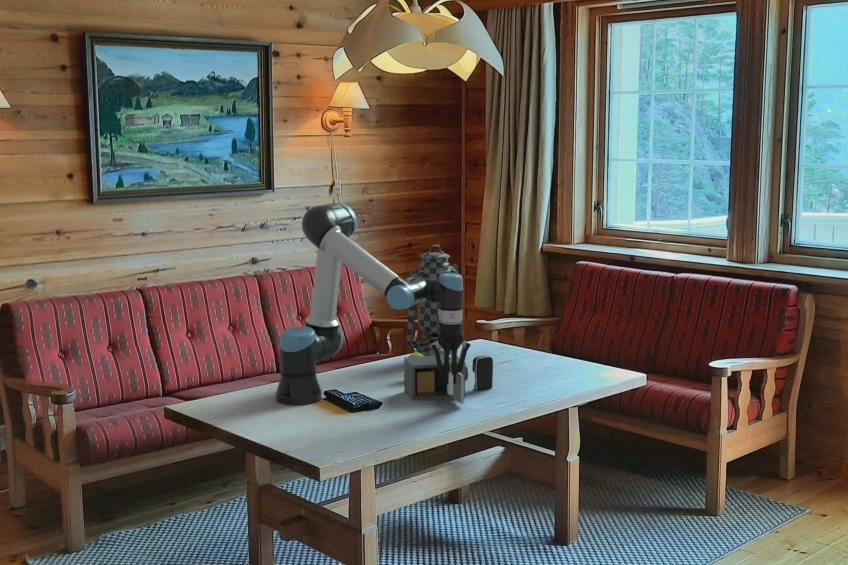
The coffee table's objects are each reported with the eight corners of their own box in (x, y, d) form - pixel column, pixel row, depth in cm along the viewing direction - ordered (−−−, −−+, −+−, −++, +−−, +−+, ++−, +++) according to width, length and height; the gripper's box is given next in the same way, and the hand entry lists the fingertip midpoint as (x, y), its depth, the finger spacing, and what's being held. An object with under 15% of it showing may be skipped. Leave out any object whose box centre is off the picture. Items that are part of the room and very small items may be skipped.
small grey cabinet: (413, 401, 336) (412, 363, 334) (404, 391, 348) (404, 355, 346) (470, 396, 341) (470, 359, 339) (460, 387, 353) (460, 351, 351)
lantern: (416, 370, 377) (416, 249, 370) (396, 359, 393) (395, 244, 386) (473, 363, 388) (474, 245, 380) (452, 353, 404) (452, 240, 396)
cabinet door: (465, 403, 328) (465, 375, 327) (461, 404, 328) (461, 375, 326) (453, 394, 339) (453, 366, 338) (449, 394, 339) (449, 367, 338)
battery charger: (486, 385, 355) (486, 353, 353) (493, 387, 352) (493, 355, 350) (470, 388, 351) (470, 356, 349) (477, 391, 348) (477, 358, 346)
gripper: (433, 325, 320) (432, 397, 324) (473, 323, 322) (472, 395, 326) (428, 320, 327) (428, 391, 331) (467, 319, 330) (466, 389, 334)
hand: (450, 393), depth 329 cm, fingers closed
